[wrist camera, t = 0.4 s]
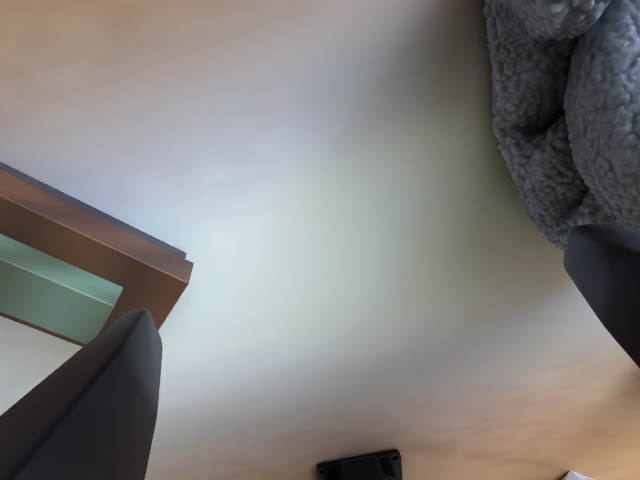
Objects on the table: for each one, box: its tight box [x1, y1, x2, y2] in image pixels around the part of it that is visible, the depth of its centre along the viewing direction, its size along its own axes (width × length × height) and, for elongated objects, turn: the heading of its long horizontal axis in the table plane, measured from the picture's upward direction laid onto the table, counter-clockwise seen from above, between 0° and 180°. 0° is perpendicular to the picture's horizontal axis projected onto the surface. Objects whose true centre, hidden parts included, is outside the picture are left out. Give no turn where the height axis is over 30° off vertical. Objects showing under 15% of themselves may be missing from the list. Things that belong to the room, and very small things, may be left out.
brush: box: [0, 162, 193, 347], centre depth 21 cm, size 14×6×5 cm, turn 55°
